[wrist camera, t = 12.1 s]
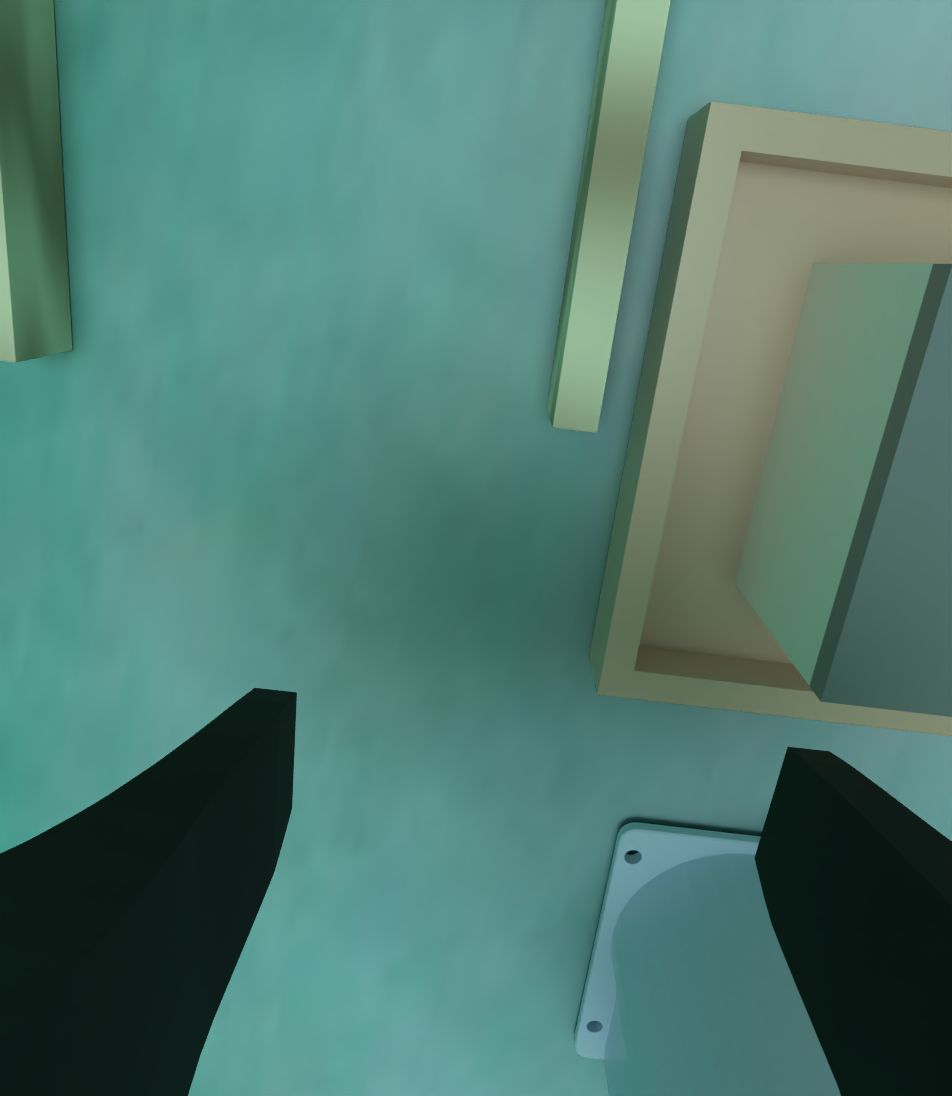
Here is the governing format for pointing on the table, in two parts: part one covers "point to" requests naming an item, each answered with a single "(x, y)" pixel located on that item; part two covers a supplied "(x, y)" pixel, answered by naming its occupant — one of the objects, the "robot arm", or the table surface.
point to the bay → (596, 245)
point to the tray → (744, 390)
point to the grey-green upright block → (862, 491)
